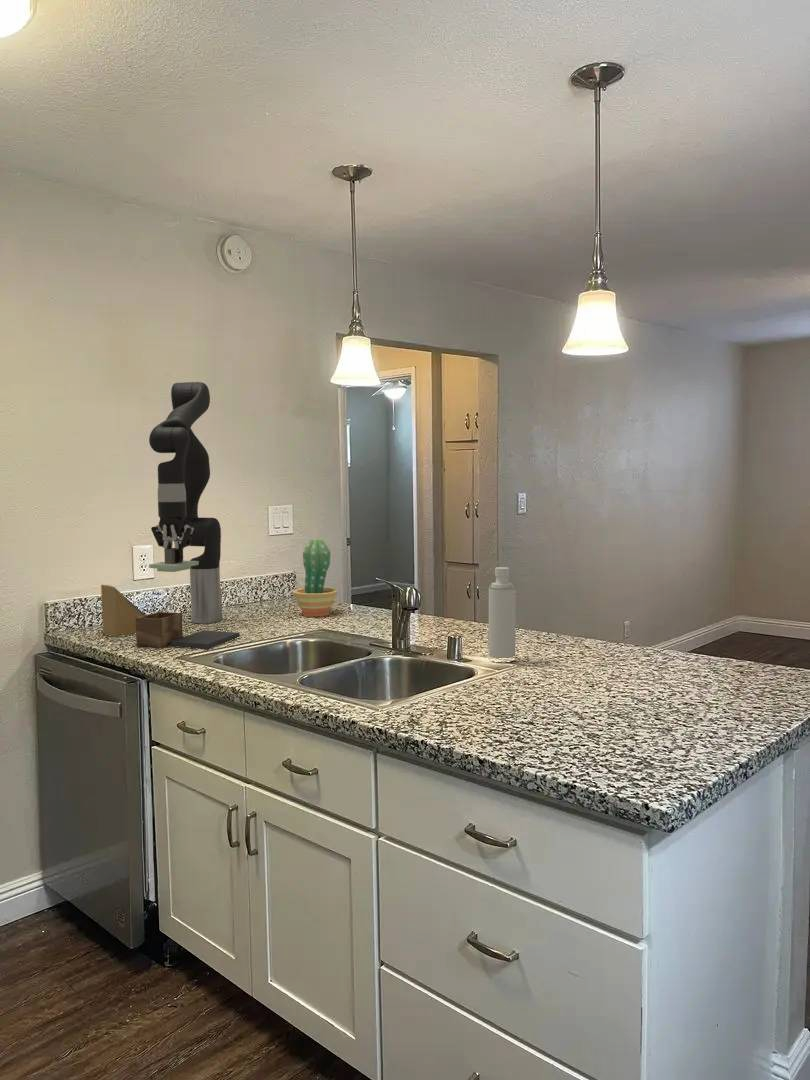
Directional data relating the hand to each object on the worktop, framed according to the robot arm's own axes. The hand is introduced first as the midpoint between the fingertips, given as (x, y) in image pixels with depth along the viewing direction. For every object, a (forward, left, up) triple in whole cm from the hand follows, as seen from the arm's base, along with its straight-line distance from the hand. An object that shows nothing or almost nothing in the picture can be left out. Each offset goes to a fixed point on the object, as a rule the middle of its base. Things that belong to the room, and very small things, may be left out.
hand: (174, 562), depth 227 cm
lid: (0, 0, -1) cm, 1 cm away
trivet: (-4, +7, -23) cm, 24 cm away
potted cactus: (-53, +17, -23) cm, 60 cm away
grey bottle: (-9, +91, -23) cm, 94 cm away
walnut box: (+2, -4, -23) cm, 23 cm away
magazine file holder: (-10, -22, -23) cm, 34 cm away
